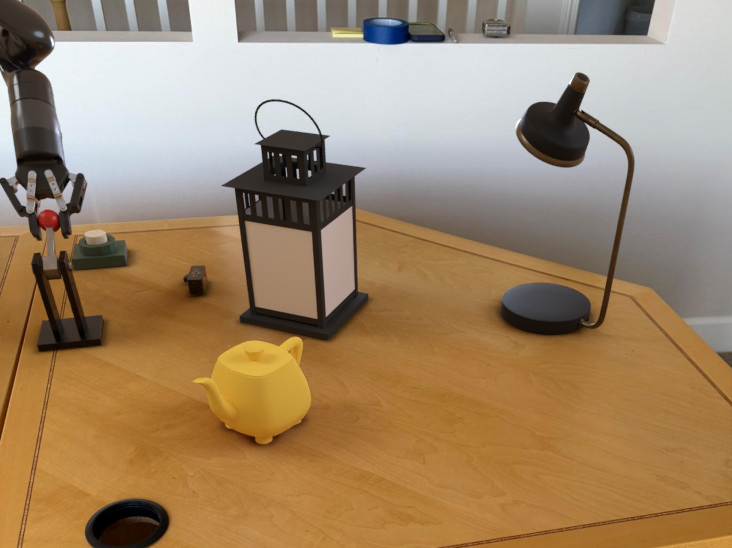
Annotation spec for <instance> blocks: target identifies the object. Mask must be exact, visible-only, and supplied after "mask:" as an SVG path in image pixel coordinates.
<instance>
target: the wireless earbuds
mask: <svg viewBox="0 0 732 548" xmlns="http://www.w3.org/2000/svg"><path fill="white" fill-rule="evenodd" d="M208 279H209V278H208V274H207V268H206V266H205V265H191V266H190V268H189V271H188V273H186V274H185V275H183V277H182V280H183V282H184V283H186V284H187V287H188V293H189V295H190V296H203V295H204V294H205V292H206V288H207V285H208V281H209V280H208Z"/></svg>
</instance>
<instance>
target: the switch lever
mask: <svg viewBox="0 0 732 548" xmlns="http://www.w3.org/2000/svg"><path fill="white" fill-rule="evenodd" d="M38 224H39V226H40V227H41V230H42V231H44V232H45V240H46V256H42V260H43V271H44V273H45V275H46V278H47V280H49V281H56V280H63V278H62V275H61V271H60V268H59V264H58V259H59V256H58V255H57V254H56V253H57V252H56V235H55V233H56V232H58V231H59V230H61V227H60V220H59V213H58V212H57V211H55V210H53V209H49V208H48V209H47V208H46V209H43V210H41V211H39V213H38Z"/></svg>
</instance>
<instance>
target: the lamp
mask: <svg viewBox="0 0 732 548" xmlns="http://www.w3.org/2000/svg"><path fill="white" fill-rule="evenodd" d="M590 82H591V80H590V77H589V76H588V74H585V73H584V72H581V71H577V72H575V73H574V75H573V76H572V77H571V79H570V80H569V83H568V85H567V86H566V88H565V89H564V91H563V92H562V94H561V95H560V97H559V99H558V101H557V102H552V101H537V102H534V103H532V104H530V105H529V106H528V108H527V109H526V110H525V112H524V113H523V114H522V116H521V118H520V119H519V120H518V121H517V122H516V124H515V135H516V138H517V140H518V142H519V143H520V145H521V146H522V147H523V148H524V149H525V150H526V152H527V153H528V154H530V155H531V156H533V157H534V158H536V159H537V160H539V161H541V162H542V163H545V164H547V165H550V166H552V167H557V168H563V169H570V168H575V167H577V166H579V165H581V164H582V163H583V162H584V159H585V158H586V151H587V149H588V146H589V143H590V140H591V135H590V129H589V128H588V126H589V127H590V128H592V129H594V130H597V131H598V132H600V133H601V134H603V135H605V136H606V137H608V138H609V139H610V140H611V141H613V142H615V143H616V144H617V145H619V147H621V148H622V149H623V151H624V153H625V155H626V160H627V172H626V177H625V183H624V187H623V193H622V198H621V202H620V209H619V213H618V219H617V224H616V228H615V229H616V230H615V233H614V239H613V244H612V250H611V254H610V260H609V264H608V271H607V274H606V275H607V276H606V281H605V287H604V291H603V296H602V303H601V307H600V310H599V316H598V318H597V320H596V321H595V322H594V323H591V322H590V317H591V315H590V314H591V308H592V303H591V301H590V299H589V298H588V297H587V296H586V295H585V294H584V293H582V292H581V291H579V290H577V289H575V288H572V287H570V286H567V285H563V284H559V283H552V282H527V283H522V284H518V285H515V286H512V287H510V288H509V289H507V290H506V291H505V292H504V293H503V295H502V297H501V304H500V309H499V313H500V316H501V317H502V319H503V320H504V321H505V322H507V323H508V324H509V325H511V326H513V327H514V328H517V329H519V330H522V331H525V332H528V333H533V334H537V335H550V336H551V335H552V336H553V335H565V334H570V333H573V332H576V331H579V330H581V329H583V328H585V329H588V330H595V329H598V328H599V327H601V326H602V325H603V323H604V322H605V319H606V315H607V311H608V307H609V302H610V298H611V292H612V286H613V283H614V278H615V277H614V276H615V272H616V268H617V261H618V258H619V257H618V256H619V251H620V248H621V247H620V246H621V241H622V236H623V231H624V226H625V221H626V216H627V211H628V205H629V201H630V196H631V190H632V184H633V179H634V175H635V164H636V161H635V154H634V151H633V148H632V146H631V145H630V143H629V142H628V141H627V140H626V139H625V138H624V137H623V136H622V135H620V134H619V133H617V132H616V131H614V130H613V129H611V128H610V127H608V126H606V125H605V124H603V123H602V122H601V121H600V120H599V119H598V118H596V117H594V116H593V115H591V114H590V113H588V112H587V111H585V110H583V109H581V105H582V103H583V100H584V97H585V95H586V92H587V90H588V87H589V85H590Z"/></svg>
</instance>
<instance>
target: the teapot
mask: <svg viewBox="0 0 732 548" xmlns="http://www.w3.org/2000/svg"><path fill="white" fill-rule="evenodd" d="M303 347H304V342H303V339H302V338H301V337H300V336H299V337H298V336H291V337H289V338H287V340H285V341H284V342H282V343H281V344H280V345H276V344H274V343H270V342H266V341H263V340H247V341H244V342H241V343H239V344H237V345H234V346H232V347H231V348H230V349H228V350H226V351H224V352H223V353H221V354H220V355H219V356H218V357H217V359H216V362H215V364H214V367H213V371H212V373H211V377H199V378H195V379H193V380H192V383H194V384H197V385H200V386H202V387H203V388H204V390H205V392H206V397H207V402H208V406H209V407H210V410H211V411H212V412H213V414H214V415H215V416H216V417H217V418H218V419H219V420H220V421H221V422H222V423H224V425H225V427H226V428H227V429H230V430H233V431H235V432H237V433H240V434H244V435H245V436H249V437H254V441H255V442H256V443H257V444H260V445H267V444H269V443H271V442H272V441H273V439H274V438H273V437H275V436H277V435H280V434H282V433H284V432H286V431H287V430H289V429H291V428H292V427H294V426H296V425H299V424H300V423H301V422H302V419H304V417H305V416H306V415H307V413H308V411H309V410H310V408H311V405H312V395H311V390H310V387H309V383H308V381H307V378H306V376H305V374H304V372H303V371H302V369H301V367H300V362H301V359H302V355H303V349H304V348H303Z"/></svg>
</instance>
